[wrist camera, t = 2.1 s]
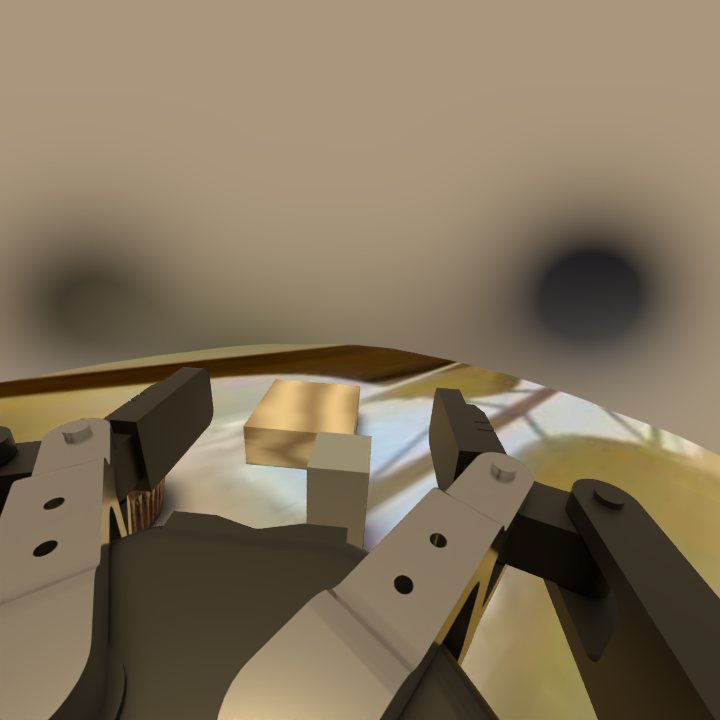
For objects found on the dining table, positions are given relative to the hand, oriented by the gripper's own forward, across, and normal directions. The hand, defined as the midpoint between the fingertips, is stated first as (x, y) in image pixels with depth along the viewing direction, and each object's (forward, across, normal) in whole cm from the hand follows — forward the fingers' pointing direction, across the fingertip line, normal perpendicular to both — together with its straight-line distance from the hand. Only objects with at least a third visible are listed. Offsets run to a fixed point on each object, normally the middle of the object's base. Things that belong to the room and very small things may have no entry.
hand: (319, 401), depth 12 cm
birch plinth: (+26, +6, +20) cm, 34 cm away
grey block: (+11, 0, +20) cm, 23 cm away
